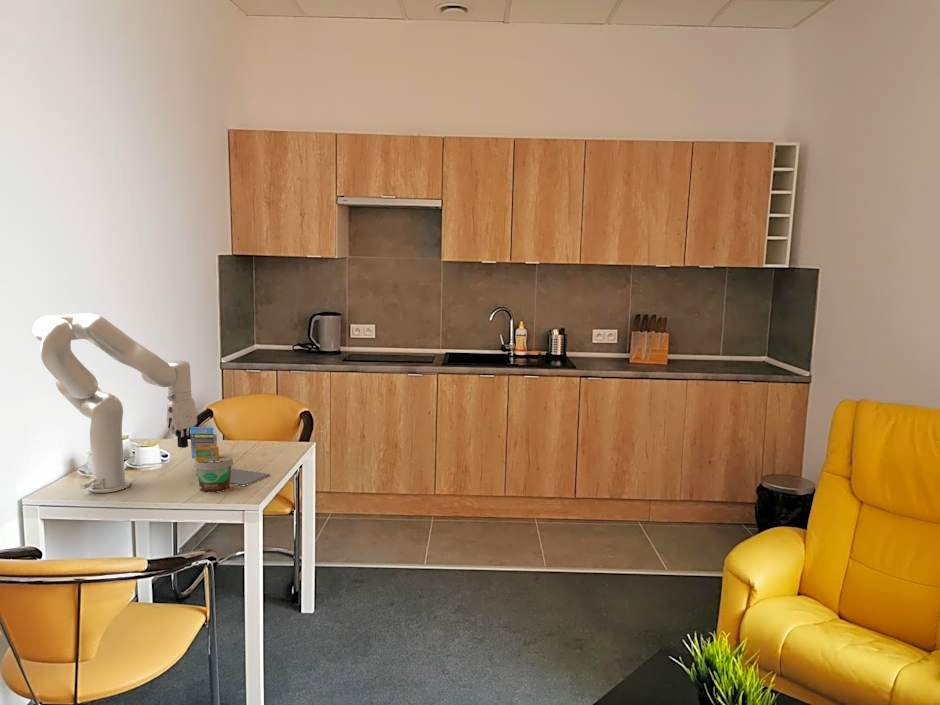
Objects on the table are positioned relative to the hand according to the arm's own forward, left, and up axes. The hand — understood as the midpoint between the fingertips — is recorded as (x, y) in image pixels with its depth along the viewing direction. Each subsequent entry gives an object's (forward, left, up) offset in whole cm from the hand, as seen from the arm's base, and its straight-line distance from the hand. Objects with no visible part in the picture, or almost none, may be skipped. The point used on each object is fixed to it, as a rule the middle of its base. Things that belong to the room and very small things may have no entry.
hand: (183, 446), depth 265 cm
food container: (-13, -25, -9) cm, 30 cm away
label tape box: (+16, +5, -9) cm, 19 cm away
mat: (+1, -23, -9) cm, 25 cm away
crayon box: (0, -11, -9) cm, 14 cm away
